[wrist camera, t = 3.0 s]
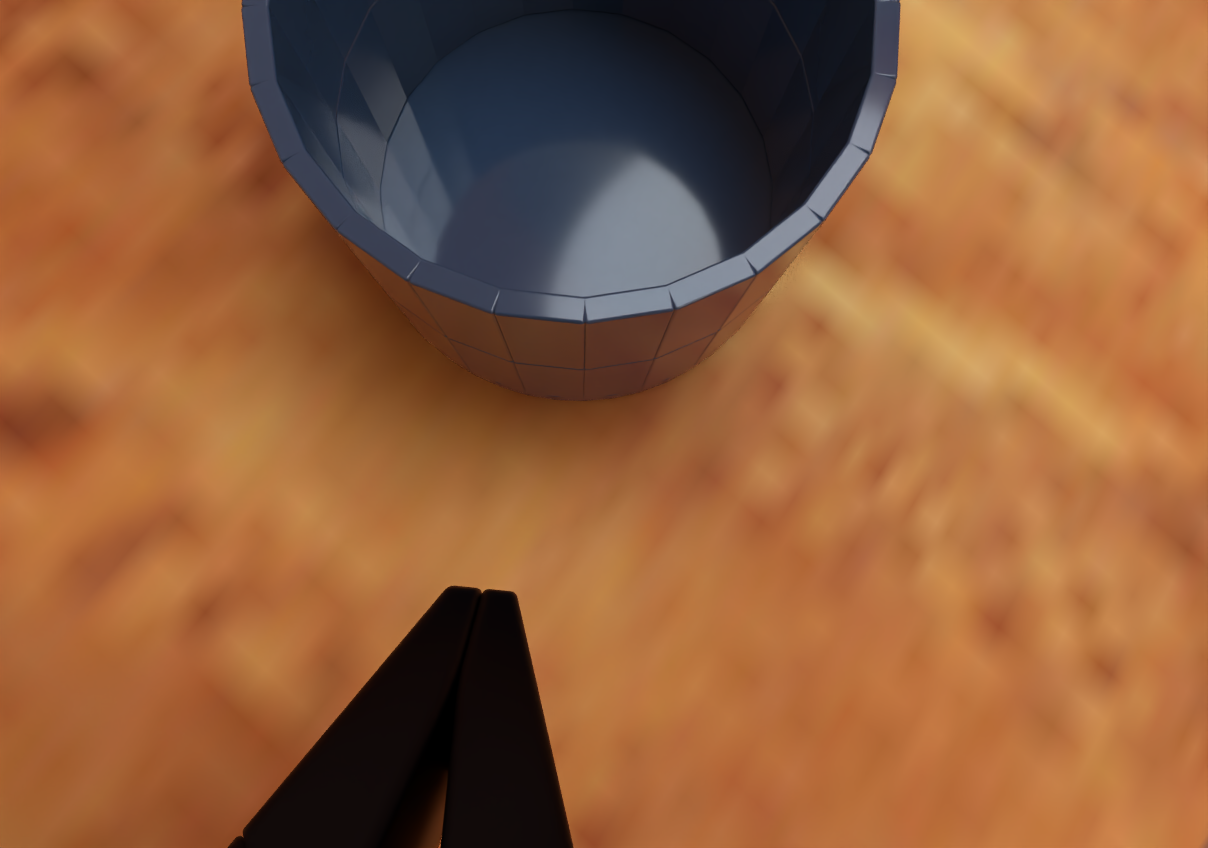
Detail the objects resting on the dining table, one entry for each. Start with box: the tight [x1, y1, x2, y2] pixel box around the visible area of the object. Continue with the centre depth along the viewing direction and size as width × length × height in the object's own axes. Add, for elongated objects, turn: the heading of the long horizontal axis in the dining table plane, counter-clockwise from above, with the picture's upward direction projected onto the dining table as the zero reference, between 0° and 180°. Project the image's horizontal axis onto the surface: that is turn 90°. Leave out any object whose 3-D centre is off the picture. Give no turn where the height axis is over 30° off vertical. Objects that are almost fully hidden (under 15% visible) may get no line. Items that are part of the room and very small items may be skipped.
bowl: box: [242, 0, 900, 401], centre depth 17 cm, size 12×12×8 cm
